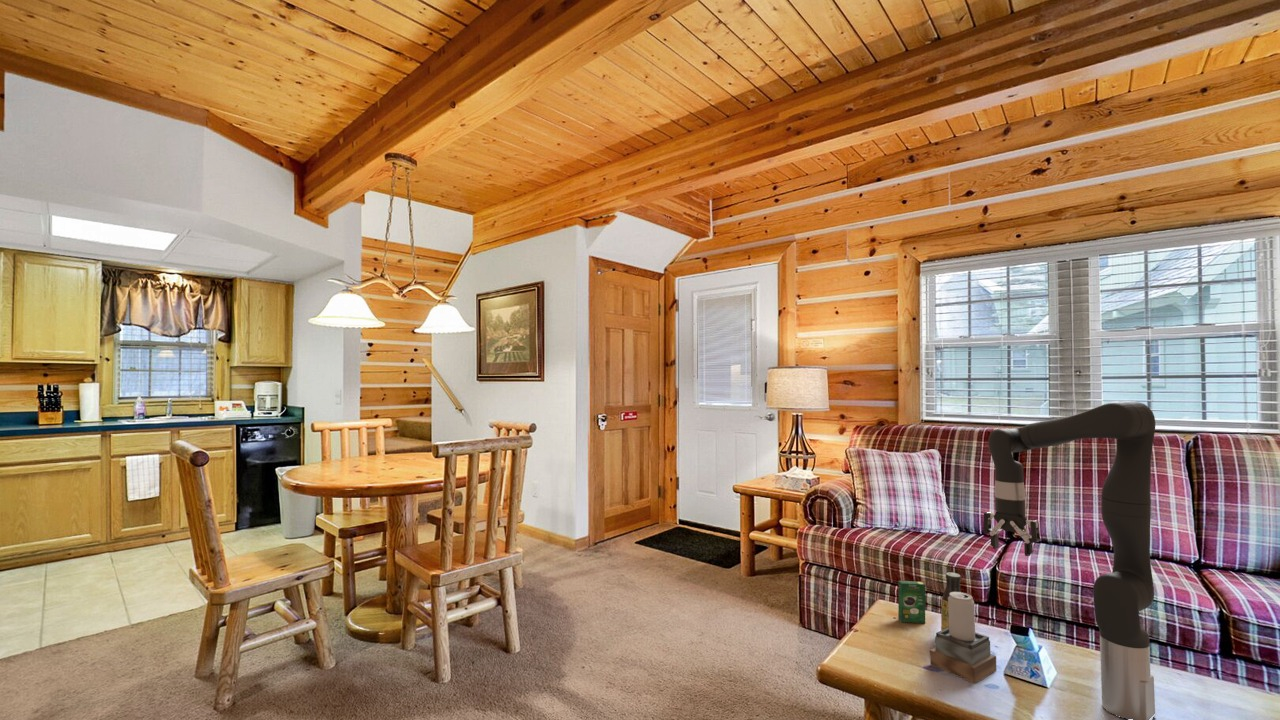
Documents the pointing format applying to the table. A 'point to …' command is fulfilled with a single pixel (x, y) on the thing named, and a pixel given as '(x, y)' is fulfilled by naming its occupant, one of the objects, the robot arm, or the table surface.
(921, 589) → the coffee box
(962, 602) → the beverage can
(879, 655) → the table surface
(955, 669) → the tower base
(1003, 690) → the table surface
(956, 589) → the sauce bottle
